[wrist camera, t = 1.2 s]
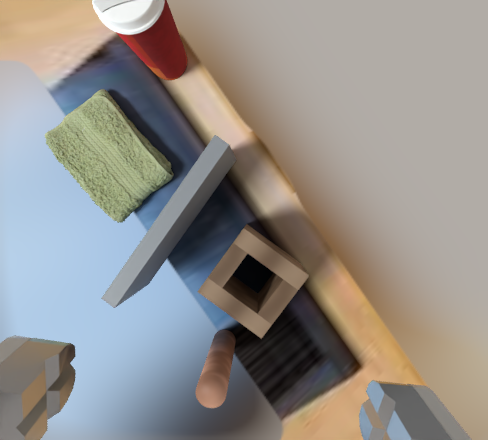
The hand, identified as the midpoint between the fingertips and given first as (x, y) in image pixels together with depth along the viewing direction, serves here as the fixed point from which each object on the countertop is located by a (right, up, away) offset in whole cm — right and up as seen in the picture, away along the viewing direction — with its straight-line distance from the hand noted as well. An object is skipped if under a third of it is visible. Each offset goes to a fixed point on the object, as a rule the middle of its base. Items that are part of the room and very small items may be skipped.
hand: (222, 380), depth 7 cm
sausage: (-2, -15, +35) cm, 38 cm away
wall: (-8, +4, +34) cm, 36 cm away
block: (+2, -3, +34) cm, 34 cm away
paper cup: (-11, +28, +34) cm, 45 cm away
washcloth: (-20, +14, +35) cm, 43 cm away
